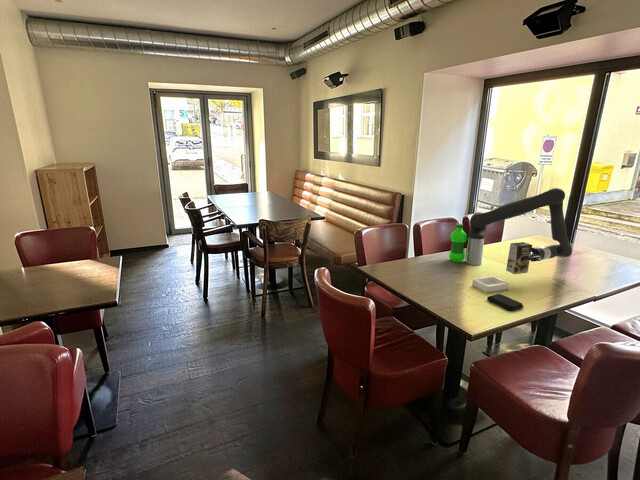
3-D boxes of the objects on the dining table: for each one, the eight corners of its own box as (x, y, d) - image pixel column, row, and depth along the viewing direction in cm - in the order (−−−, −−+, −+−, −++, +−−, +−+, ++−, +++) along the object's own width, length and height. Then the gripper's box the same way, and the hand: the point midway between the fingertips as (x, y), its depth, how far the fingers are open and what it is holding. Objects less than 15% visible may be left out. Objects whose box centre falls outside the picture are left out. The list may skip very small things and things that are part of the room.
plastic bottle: (467, 263, 228) (471, 226, 221) (450, 263, 228) (454, 226, 222) (461, 258, 238) (465, 222, 231) (445, 258, 238) (449, 222, 231)
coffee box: (514, 274, 189) (519, 246, 185) (505, 270, 195) (509, 242, 191) (528, 273, 192) (533, 244, 187) (518, 269, 198) (523, 241, 193)
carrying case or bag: (526, 309, 166) (499, 297, 179) (527, 303, 165) (500, 291, 178) (511, 313, 162) (484, 301, 175) (512, 307, 161) (485, 295, 174)
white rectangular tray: (472, 285, 193) (472, 279, 192) (492, 282, 197) (493, 275, 196) (487, 293, 183) (488, 286, 181) (508, 290, 187) (509, 283, 186)
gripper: (529, 243, 201) (506, 246, 196) (552, 250, 188) (528, 254, 183) (527, 256, 203) (504, 259, 198) (549, 264, 190) (526, 267, 185)
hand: (516, 256), depth 190 cm, fingers closed on coffee box, 6 cm apart
